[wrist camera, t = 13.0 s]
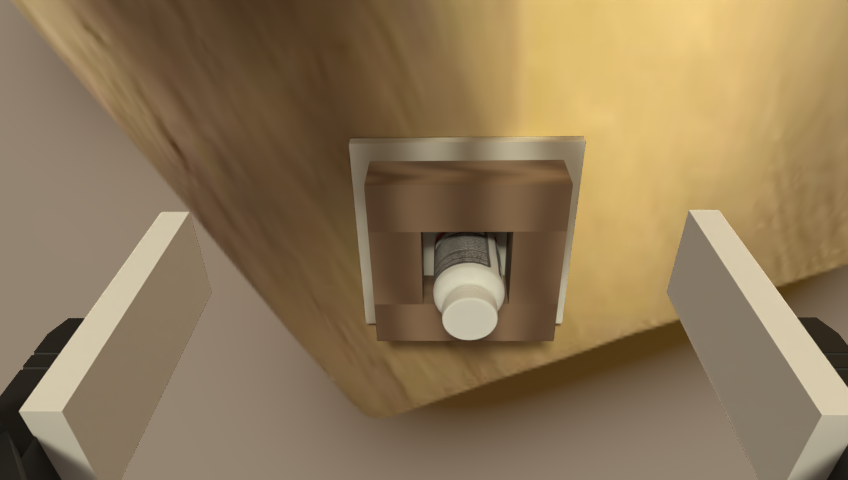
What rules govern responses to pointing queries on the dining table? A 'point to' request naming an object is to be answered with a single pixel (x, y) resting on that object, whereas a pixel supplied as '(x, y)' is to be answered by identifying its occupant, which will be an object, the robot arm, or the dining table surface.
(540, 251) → the socket block
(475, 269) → the pill bottle
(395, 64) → the dining table surface
